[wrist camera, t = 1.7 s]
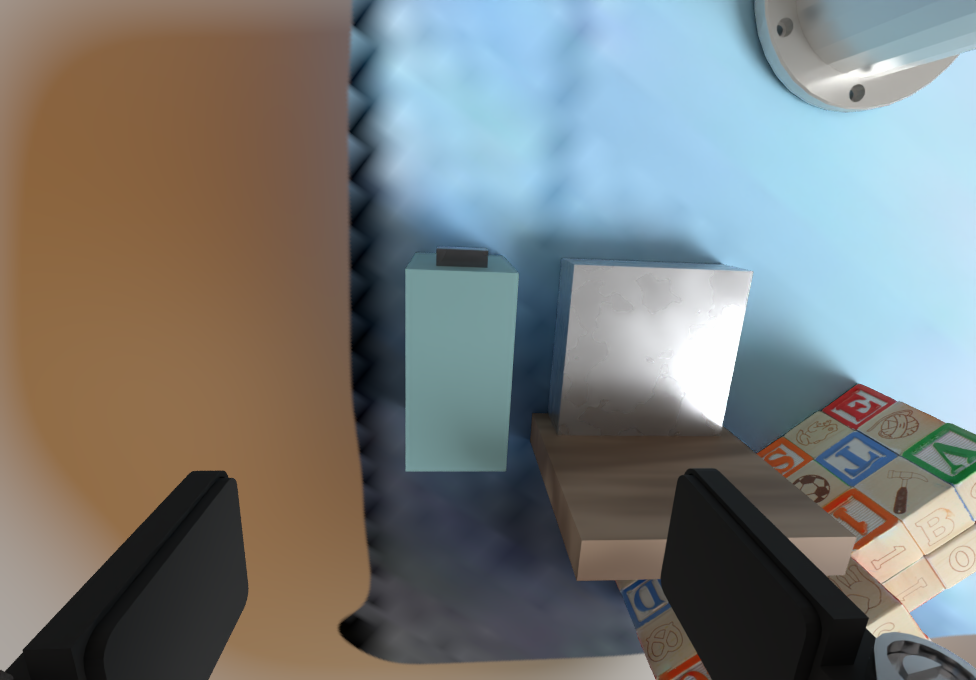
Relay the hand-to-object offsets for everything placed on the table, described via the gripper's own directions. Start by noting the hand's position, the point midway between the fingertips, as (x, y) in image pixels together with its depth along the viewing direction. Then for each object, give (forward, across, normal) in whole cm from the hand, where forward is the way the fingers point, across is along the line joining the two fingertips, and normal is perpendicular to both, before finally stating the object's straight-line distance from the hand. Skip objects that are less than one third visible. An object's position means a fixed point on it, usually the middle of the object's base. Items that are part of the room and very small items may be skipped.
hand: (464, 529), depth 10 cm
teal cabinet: (+20, 0, +1) cm, 20 cm away
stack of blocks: (+20, -22, +13) cm, 32 cm away
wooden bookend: (+19, -11, +2) cm, 22 cm away
